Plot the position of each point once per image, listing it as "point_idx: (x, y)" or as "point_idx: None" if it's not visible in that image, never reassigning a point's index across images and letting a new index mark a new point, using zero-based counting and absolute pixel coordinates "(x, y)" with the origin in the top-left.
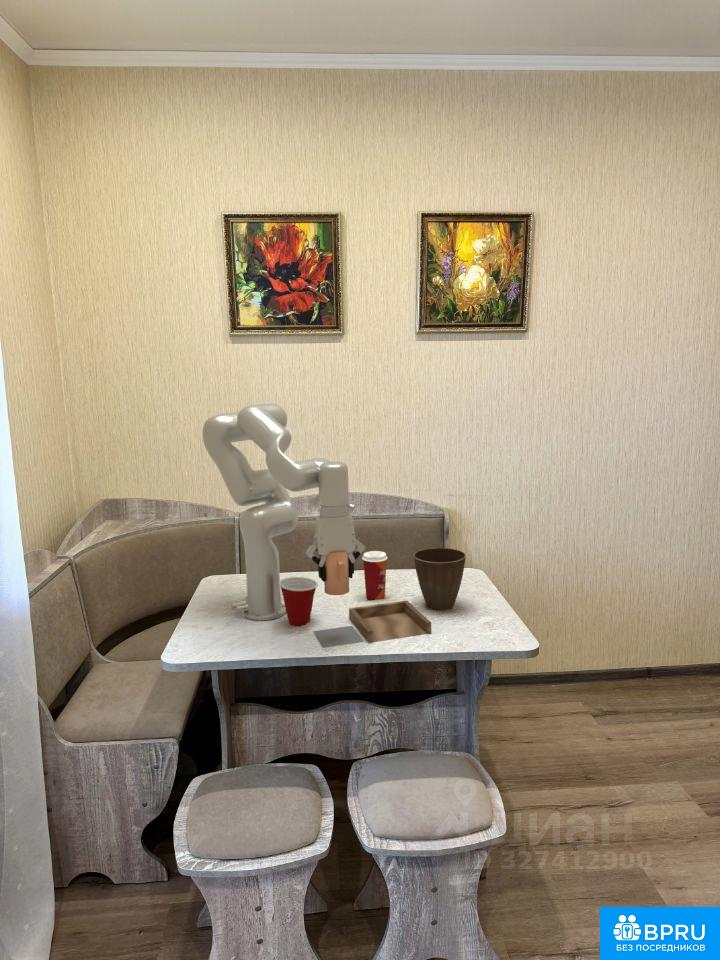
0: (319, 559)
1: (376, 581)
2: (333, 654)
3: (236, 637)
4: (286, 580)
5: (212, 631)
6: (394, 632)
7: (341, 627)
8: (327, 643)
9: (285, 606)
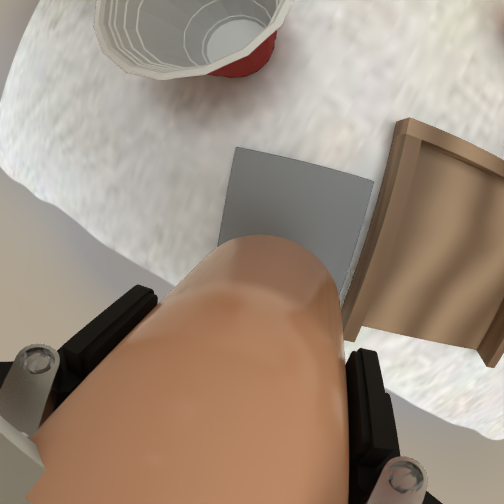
0: (27, 394)
1: None
2: None
3: (71, 85)
4: None
5: (52, 39)
6: (437, 303)
7: (336, 173)
8: None
9: (167, 27)
